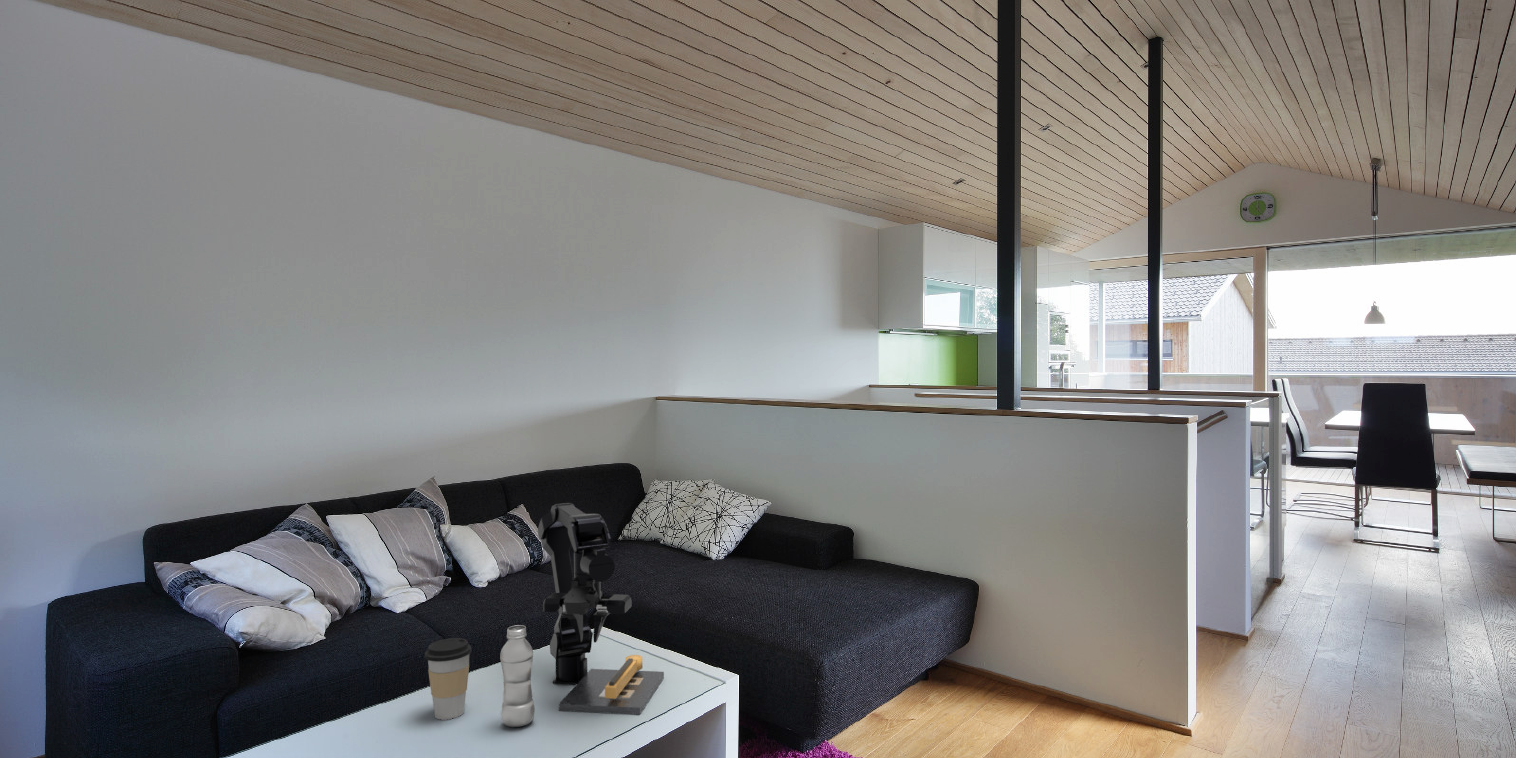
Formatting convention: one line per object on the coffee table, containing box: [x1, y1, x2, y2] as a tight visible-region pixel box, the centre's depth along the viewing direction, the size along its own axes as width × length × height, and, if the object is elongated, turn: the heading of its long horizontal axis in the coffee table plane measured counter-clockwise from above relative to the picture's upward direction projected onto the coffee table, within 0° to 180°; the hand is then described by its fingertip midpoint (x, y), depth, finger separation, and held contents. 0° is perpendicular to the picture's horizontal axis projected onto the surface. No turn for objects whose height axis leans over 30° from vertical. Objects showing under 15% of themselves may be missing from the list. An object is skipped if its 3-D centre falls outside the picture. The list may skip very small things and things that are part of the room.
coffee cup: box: [423, 637, 473, 721], centre depth 164 cm, size 9×9×15 cm
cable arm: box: [605, 654, 643, 699], centre depth 175 cm, size 4×19×3 cm, turn 172°
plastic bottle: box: [499, 624, 536, 728], centre depth 159 cm, size 6×7×20 cm
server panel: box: [558, 668, 665, 716], centre depth 174 cm, size 18×20×2 cm
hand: (588, 641), depth 170 cm, fingers open, 3 cm apart
